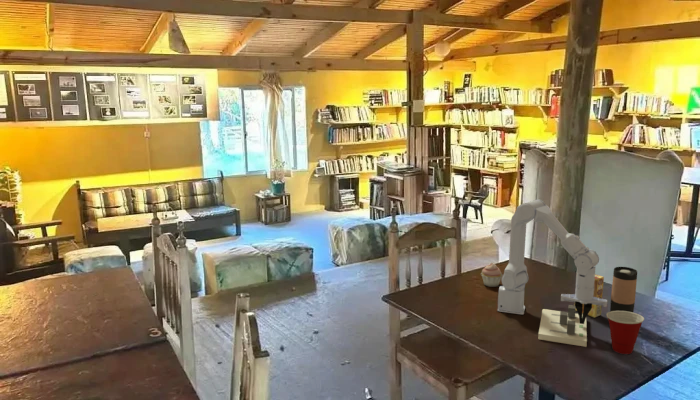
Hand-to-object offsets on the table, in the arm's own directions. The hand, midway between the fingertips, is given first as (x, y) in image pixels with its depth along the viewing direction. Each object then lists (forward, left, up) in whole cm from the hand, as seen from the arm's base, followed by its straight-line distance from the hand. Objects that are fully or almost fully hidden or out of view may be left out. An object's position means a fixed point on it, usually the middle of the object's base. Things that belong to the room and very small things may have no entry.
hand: (581, 322), depth 184 cm
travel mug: (+13, +13, -4) cm, 19 cm away
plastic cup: (+12, -9, -4) cm, 16 cm away
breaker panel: (-6, 0, -3) cm, 7 cm away
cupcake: (-36, +35, -4) cm, 50 cm away
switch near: (-3, -7, -1) cm, 8 cm away
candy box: (+2, +18, -4) cm, 18 cm away
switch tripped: (-6, 0, -1) cm, 6 cm away
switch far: (-3, +7, -1) cm, 8 cm away
